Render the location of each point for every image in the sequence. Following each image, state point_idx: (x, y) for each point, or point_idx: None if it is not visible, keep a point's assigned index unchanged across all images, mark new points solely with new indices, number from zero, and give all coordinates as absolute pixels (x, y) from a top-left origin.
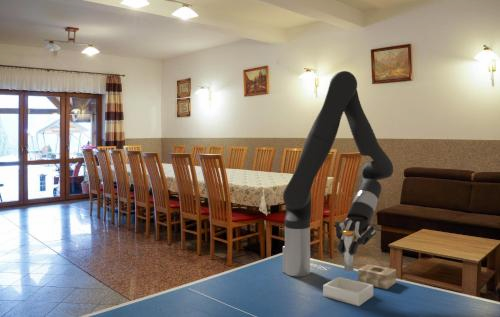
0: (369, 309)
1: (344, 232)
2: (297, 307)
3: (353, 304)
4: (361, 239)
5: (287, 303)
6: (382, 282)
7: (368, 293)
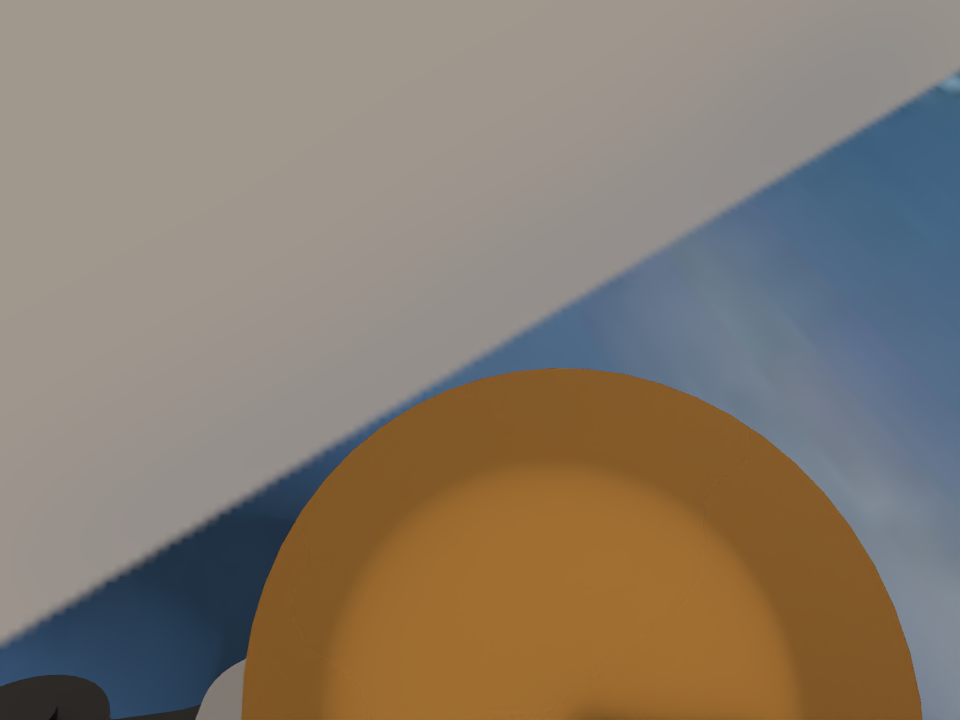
0: (255, 555)
1: (659, 401)
2: (750, 289)
3: None
4: (19, 699)
5: (857, 308)
6: None
7: None
